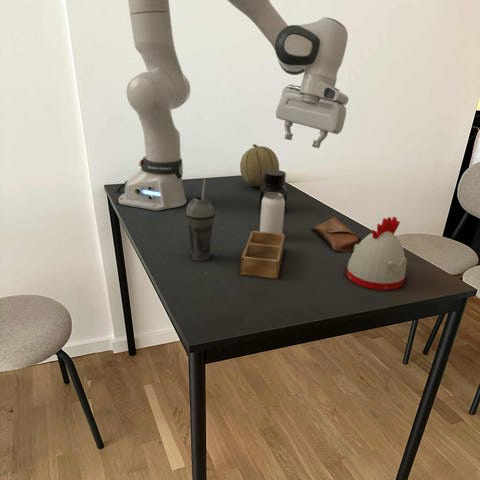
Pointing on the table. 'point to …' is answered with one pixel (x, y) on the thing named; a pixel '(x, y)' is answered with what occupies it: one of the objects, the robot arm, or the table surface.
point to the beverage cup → (200, 226)
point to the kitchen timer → (379, 259)
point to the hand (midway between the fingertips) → (301, 143)
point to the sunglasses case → (337, 235)
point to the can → (272, 213)
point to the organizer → (263, 254)
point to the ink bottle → (273, 184)
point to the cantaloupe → (257, 165)
